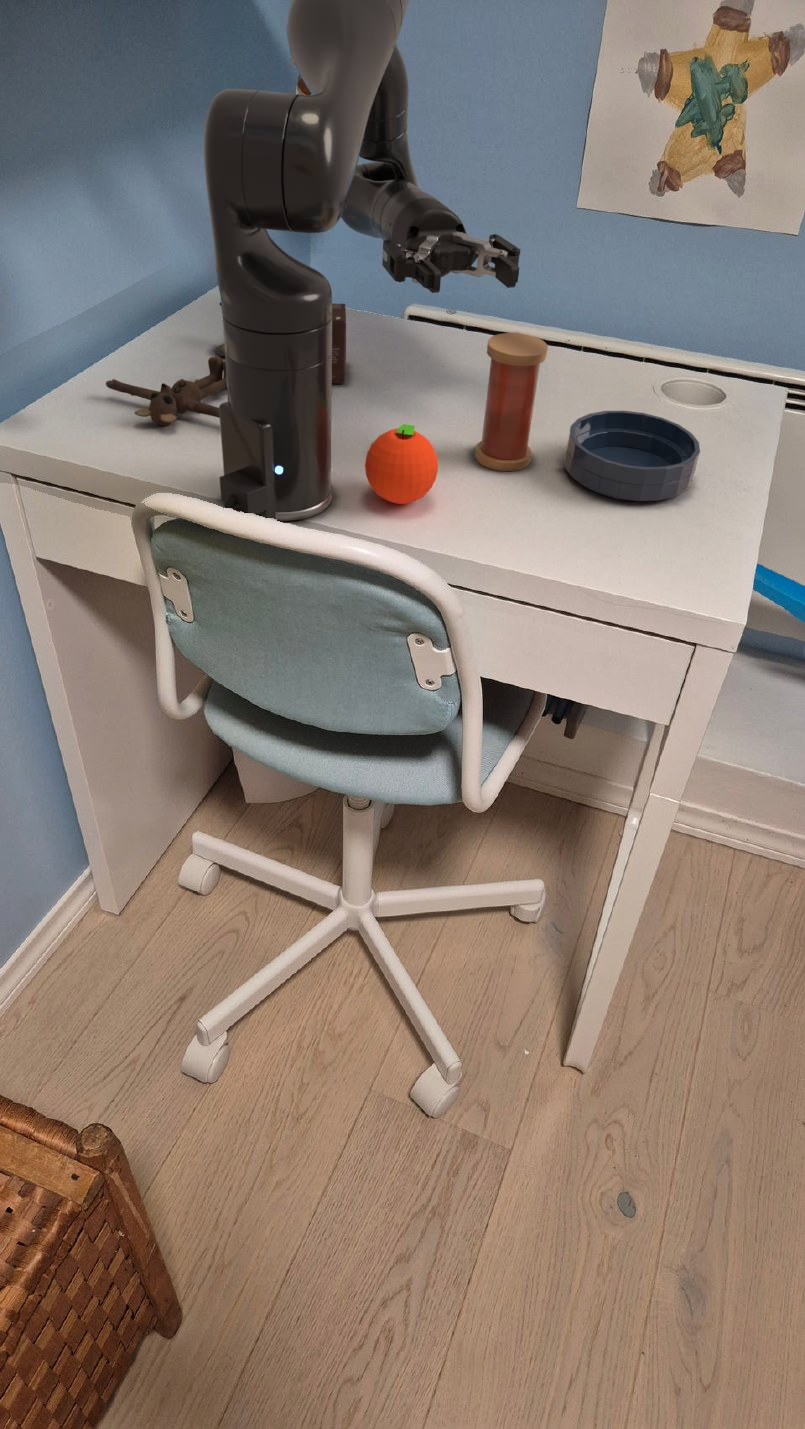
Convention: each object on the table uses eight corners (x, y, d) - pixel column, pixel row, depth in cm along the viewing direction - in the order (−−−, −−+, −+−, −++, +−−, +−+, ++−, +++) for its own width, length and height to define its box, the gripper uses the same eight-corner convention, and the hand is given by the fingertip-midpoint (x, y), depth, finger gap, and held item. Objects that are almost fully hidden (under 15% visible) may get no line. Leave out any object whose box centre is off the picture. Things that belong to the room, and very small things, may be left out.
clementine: (376, 472, 99) (378, 405, 94) (443, 483, 98) (449, 415, 93) (355, 510, 93) (357, 441, 88) (427, 522, 92) (433, 452, 87)
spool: (505, 477, 99) (521, 360, 91) (463, 456, 102) (475, 341, 94) (541, 460, 103) (559, 346, 95) (500, 440, 106) (514, 328, 98)
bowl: (641, 520, 94) (651, 482, 92) (538, 469, 101) (543, 433, 98) (714, 479, 101) (724, 443, 99) (612, 434, 108) (620, 400, 105)
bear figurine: (295, 372, 108) (224, 409, 97) (294, 410, 111) (224, 450, 100) (158, 339, 113) (76, 370, 102) (160, 376, 116) (80, 411, 105)
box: (345, 365, 119) (346, 303, 114) (345, 385, 114) (346, 322, 109) (295, 363, 118) (294, 300, 113) (292, 383, 114) (291, 319, 109)
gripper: (363, 199, 107) (413, 245, 96) (482, 194, 111) (543, 238, 100) (361, 270, 112) (409, 322, 101) (475, 263, 116) (533, 312, 105)
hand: (476, 280), depth 101 cm, fingers open, 8 cm apart
